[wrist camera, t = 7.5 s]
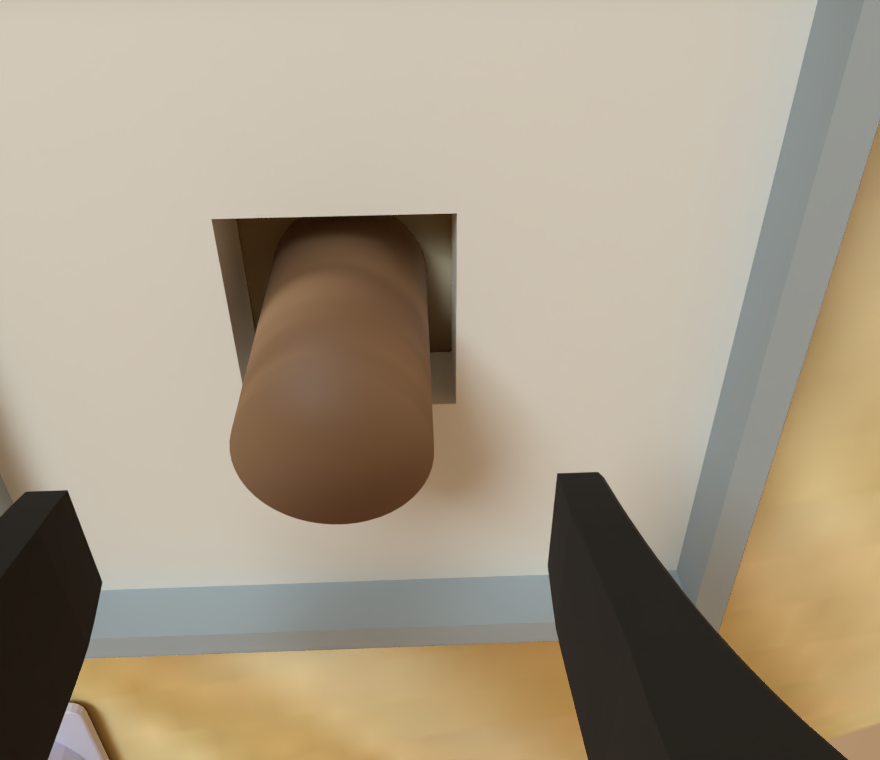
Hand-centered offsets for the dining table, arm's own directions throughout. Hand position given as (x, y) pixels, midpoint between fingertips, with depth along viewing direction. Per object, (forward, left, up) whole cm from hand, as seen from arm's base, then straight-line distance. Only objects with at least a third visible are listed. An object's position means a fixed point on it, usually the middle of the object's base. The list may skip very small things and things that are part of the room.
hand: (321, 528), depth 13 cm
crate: (0, 0, -8) cm, 8 cm away
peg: (0, 0, -8) cm, 8 cm away
